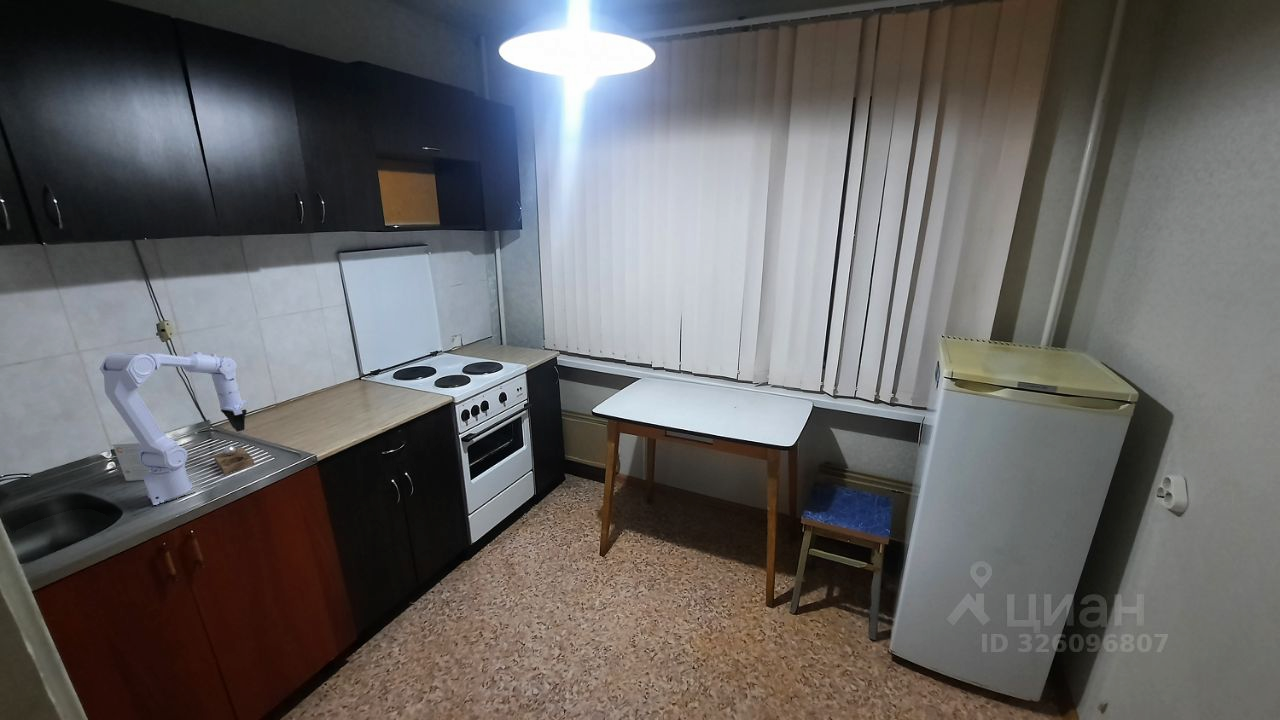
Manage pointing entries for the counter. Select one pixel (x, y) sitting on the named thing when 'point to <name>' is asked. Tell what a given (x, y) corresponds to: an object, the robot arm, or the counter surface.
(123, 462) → the small box
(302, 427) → the counter surface
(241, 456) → the hole plate
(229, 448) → the steel ball
